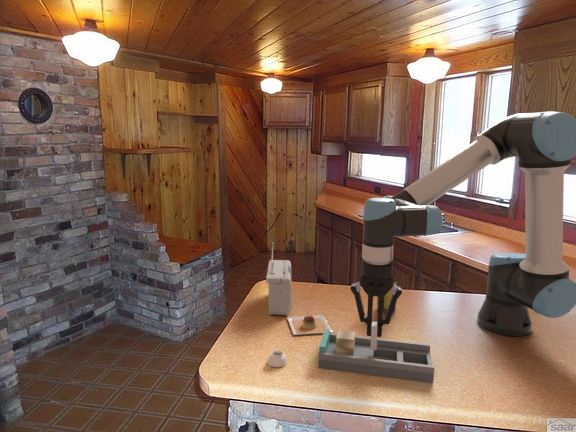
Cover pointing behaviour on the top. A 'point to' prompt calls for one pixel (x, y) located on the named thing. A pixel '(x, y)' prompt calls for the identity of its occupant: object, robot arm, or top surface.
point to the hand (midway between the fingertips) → (373, 347)
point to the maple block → (345, 342)
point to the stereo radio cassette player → (279, 286)
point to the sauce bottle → (388, 294)
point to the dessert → (308, 323)
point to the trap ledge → (379, 367)
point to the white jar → (277, 359)
